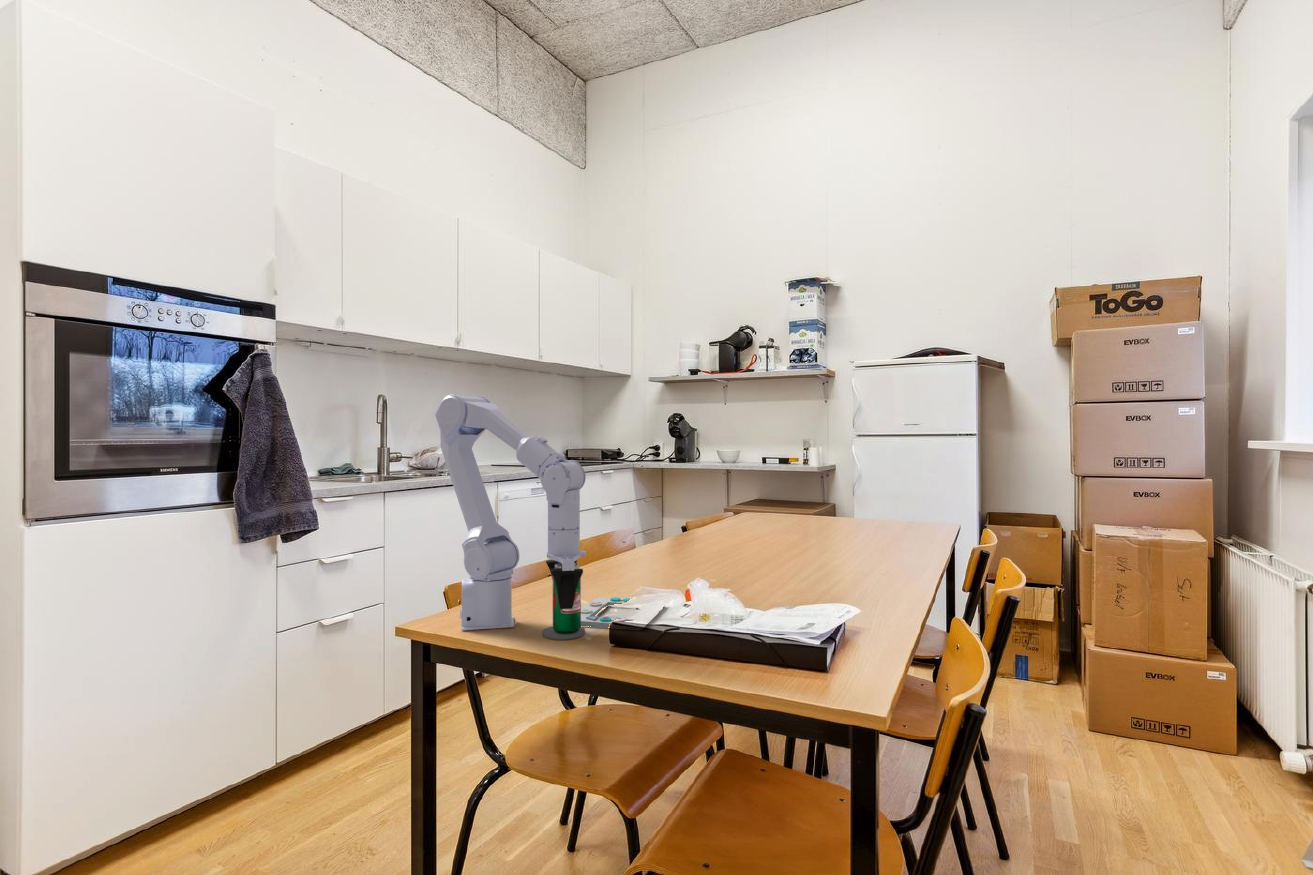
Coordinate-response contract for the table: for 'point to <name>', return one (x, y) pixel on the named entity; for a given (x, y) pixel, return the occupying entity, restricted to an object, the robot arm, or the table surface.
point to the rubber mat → (551, 634)
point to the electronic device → (594, 607)
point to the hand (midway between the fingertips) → (563, 603)
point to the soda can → (567, 610)
